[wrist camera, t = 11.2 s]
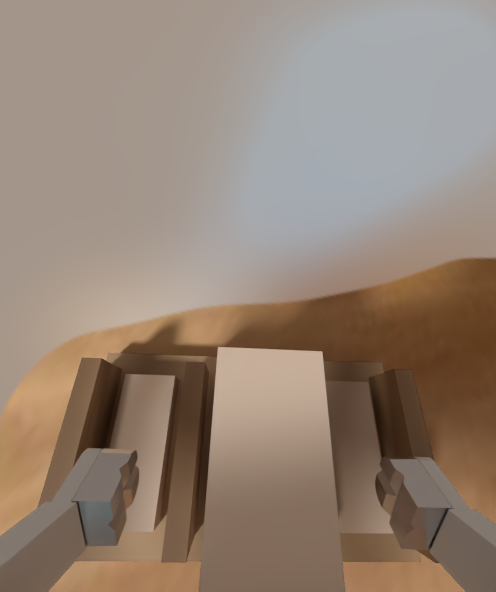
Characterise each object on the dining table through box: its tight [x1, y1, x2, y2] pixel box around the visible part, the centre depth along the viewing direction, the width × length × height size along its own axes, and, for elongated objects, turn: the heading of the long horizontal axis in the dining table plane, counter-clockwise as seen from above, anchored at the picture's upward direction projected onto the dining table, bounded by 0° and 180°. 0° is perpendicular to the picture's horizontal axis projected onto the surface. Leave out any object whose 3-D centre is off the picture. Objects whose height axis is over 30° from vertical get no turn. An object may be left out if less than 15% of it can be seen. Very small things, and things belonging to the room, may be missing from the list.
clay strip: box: [199, 347, 345, 592], centre depth 11 cm, size 3×6×10 cm, turn 178°
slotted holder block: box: [38, 353, 439, 563], centre depth 14 cm, size 18×10×4 cm, turn 89°
